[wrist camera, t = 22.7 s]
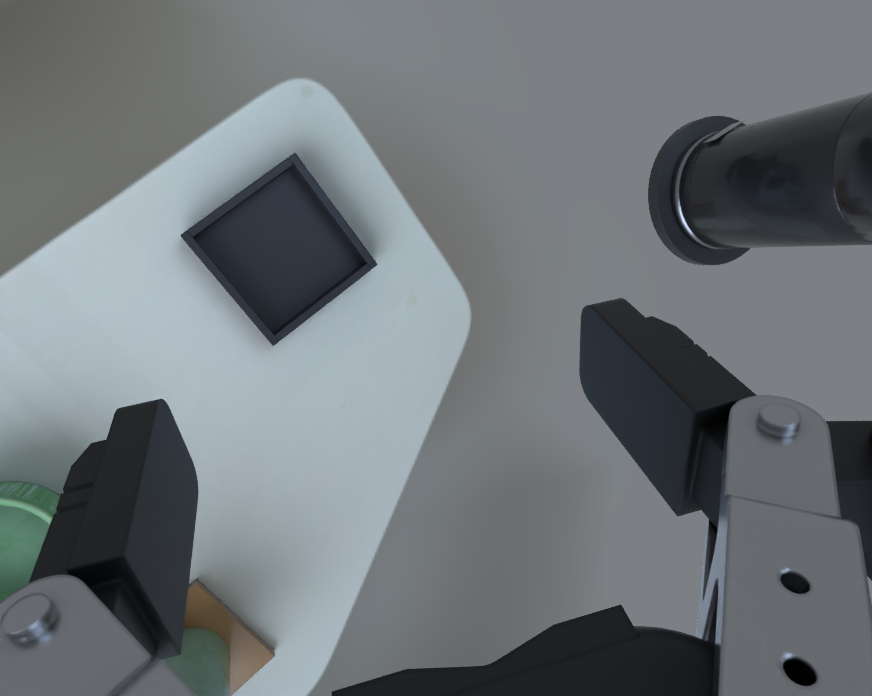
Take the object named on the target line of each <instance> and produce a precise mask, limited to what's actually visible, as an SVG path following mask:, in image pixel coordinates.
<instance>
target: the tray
mask: <svg viewBox="0 0 872 696" xmlns="http://www.w3.org/2000/svg"><path fill="white" fill-rule="evenodd" d="M181 237H182V238H183V239H184V241H185V242H186V243H187V244H188V245H189V247H190V248H191V249H192V250H193V251H194V253H195V254H196V255H197V256H198V257H199V259H200V260H201V261H202V262H203V263H204V264H205V266H206V267H207V268H208V269H209V270H210V272H211V273H212V274H213V275H214V276H215V278H216V279H217V280H218V281H219V282H220V283H221V285H222V286H223V287H224V288H225V289H226V291H227V292H228V293H229V294H230V295H231V297H232V298H233V299H234V300H235V301H236V303H237V304H238V305H239V306H240V307H241V308H242V310H243V311H244V312H245V313H246V314H247V316H248V317H249V318H250V319H251V320H252V322H253V323H254V324H255V325H256V326H257V327H258V329H259V330H260V331H261V332H262V333H263V335H264V336H265V337H266V338H267V339H268V341H269V342H270V343H271V344H272V345H273V346H274V345H275V344H276V343H278V342H279V341H280V340H281V339H283V338H284V337H285V336H287V335H288V334H289V333H290V332H292V331H293V330H294V329H296V328H297V327H298V326H299V325H301V324H302V323H303V322H305V321H306V320H307V319H308V318H310V317H311V316H312V315H314V314H315V313H316V312H317V311H319V310H320V309H321V308H323V307H324V306H325V305H326V304H328V303H329V302H330V301H332V300H333V299H334V298H335V297H337V296H338V295H339V294H341V293H342V292H343V291H344V290H346V289H347V288H348V287H350V286H351V285H352V284H353V283H355V282H356V281H357V280H359V279H360V278H361V277H362V276H364V275H365V274H366V273H368V272H369V271H370V270H371V269H373V268H374V267H375V266H376V265H377V263H376V262H375V260H374V259H373V258H372V256H371V255H370V254H369V252H368V251H367V250H366V248H365V247H364V246H363V244H362V243H361V241H360V240H359V239H358V237H357V236H356V235H355V233H354V232H353V231H352V229H351V228H350V227H349V225H348V224H347V222H346V221H345V220H344V218H343V217H342V216H341V214H340V213H339V212H338V210H337V209H336V208H335V206H334V205H333V203H332V202H331V201H330V199H329V198H328V197H327V195H326V194H325V193H324V191H323V190H322V189H321V187H320V186H319V184H318V183H317V182H316V180H315V179H314V178H313V176H312V175H311V174H310V172H309V171H308V170H307V168H306V167H305V166H304V164H303V163H302V161H301V160H300V159H299V157H298V156H297V155H296V153H294V154H293V155H291V156H290V157H289V158H287V159H286V160H284V161H283V162H281V163H280V164H279V165H277V166H276V167H275V168H273V169H272V170H270V171H269V172H268V173H266V174H265V175H263V176H262V177H261V178H259V179H258V180H256V181H255V182H254V183H252V184H251V185H249V186H248V187H247V188H245V189H244V190H243V191H241V192H240V193H238V194H237V195H236V196H234V197H233V198H231V199H230V200H229V201H227V202H226V203H224V204H223V205H222V206H220V207H219V208H218V209H216V210H215V211H213V212H212V213H211V214H209V215H208V216H206V217H205V218H204V219H202V220H201V221H199V222H198V223H197V224H195V225H194V226H193V227H191V228H190V229H188V231H186V232H184V233H183V234H181Z"/></svg>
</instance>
